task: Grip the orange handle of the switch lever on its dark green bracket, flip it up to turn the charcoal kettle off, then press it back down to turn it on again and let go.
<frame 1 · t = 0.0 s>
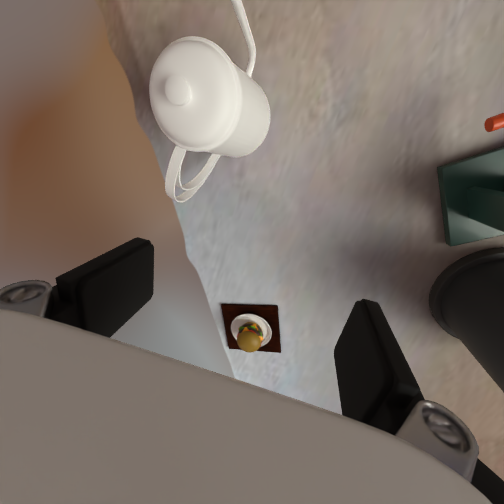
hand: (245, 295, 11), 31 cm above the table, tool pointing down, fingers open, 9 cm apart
kettle: (488, 295, 39), on the table
coffeepot: (237, 116, 36), on the table
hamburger: (252, 327, 51), on the table
switch bracket: (482, 196, 33), on the table
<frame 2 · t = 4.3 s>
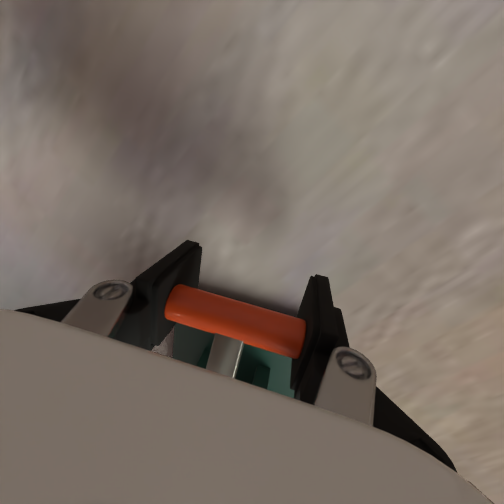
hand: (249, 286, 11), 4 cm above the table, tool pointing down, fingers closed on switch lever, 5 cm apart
switch lever: (197, 464, 9), point 9 cm above the table, hinge at -24.0°, touching gripper
switch bracket: (237, 363, 19), on the table
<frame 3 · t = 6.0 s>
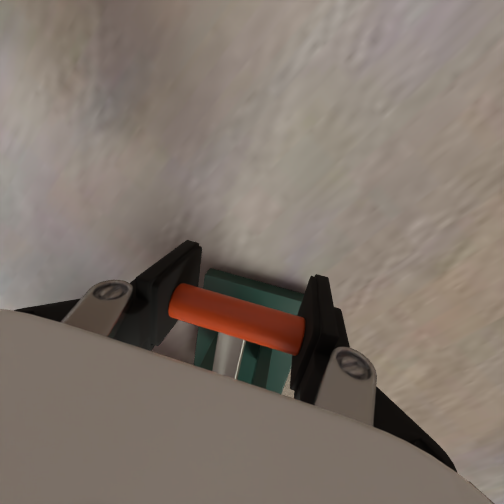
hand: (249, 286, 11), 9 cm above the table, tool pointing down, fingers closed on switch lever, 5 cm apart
switch lever: (220, 402, 12), point 11 cm above the table, hinge at 3.5°, touching gripper
switch bracket: (248, 330, 24), on the table
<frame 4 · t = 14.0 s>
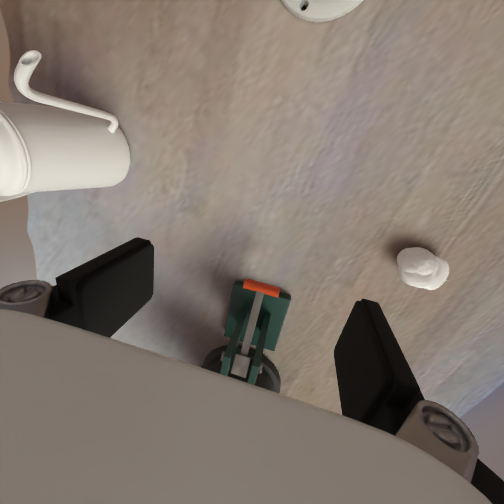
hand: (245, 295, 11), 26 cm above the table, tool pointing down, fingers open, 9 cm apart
kettle: (241, 376, 51), on the table
switch lever: (251, 327, 34), point 9 cm above the table, hinge at -25.9°
dumpling: (416, 261, 34), on the table
coffeepot: (105, 148, 37), on the table
switch bracket: (256, 314, 44), on the table
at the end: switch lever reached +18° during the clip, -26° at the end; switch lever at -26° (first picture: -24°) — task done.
